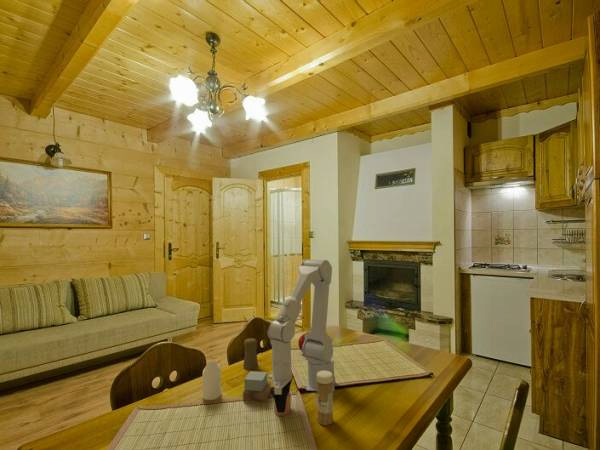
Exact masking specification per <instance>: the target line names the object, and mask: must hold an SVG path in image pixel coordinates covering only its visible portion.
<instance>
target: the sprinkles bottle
mask: <svg viewBox="0 0 600 450" xmlns="http://www.w3.org/2000/svg"><path fill="white" fill-rule="evenodd" d="M332 381H333V375H332V373H331V372H329V371H319V372H318V373H317V390H318V391H317V400H316V403H317V406H316V407H317V422H318V423H319V424H320V425H321V426H329V425H331V424H332V423H334V417H333V416H334V415H333V412H334V411H333V409H334V398H333V397H334V396H333V395H334V392H332Z"/></svg>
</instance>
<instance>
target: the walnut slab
mask: <svg viewBox="0 0 600 450" xmlns="http://www.w3.org/2000/svg"><path fill="white" fill-rule="evenodd" d="M271 383H272V382H271V380H267V384H266V386H265V388H264V390H263V391H248V390H244V389H243V391H242V397H243V398H242V401H243V402H251V403H256V402H257V403H266V402H267V401H268V399H269V396H270V394H271V392H270V389H271V387H272V384H271Z"/></svg>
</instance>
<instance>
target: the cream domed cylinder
mask: <svg viewBox="0 0 600 450" xmlns="http://www.w3.org/2000/svg"><path fill="white" fill-rule="evenodd" d="M201 379H202V383H201V384H202V385H201V386H202V399H203V400H205V401H214V400H216V399H218V398H219V397H221V395H222V385H221V384H222V383H221V381H222V370H221V366H220V365H219V364H218V362H216V361H215V360H213V361H212V360H209V361H207V362H206V365H205V367H204V368H203V370H202V378H201Z"/></svg>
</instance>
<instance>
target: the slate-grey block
mask: <svg viewBox="0 0 600 450" xmlns="http://www.w3.org/2000/svg"><path fill="white" fill-rule="evenodd" d="M267 381H268V372H267V371H255V370H254V371H253V370H249V372H248V374H247V375H246V376H245V377H244V381H243V382H244V388H243V391H244V390H248V391H263V390H264V388H265V386H266V384H267Z"/></svg>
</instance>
